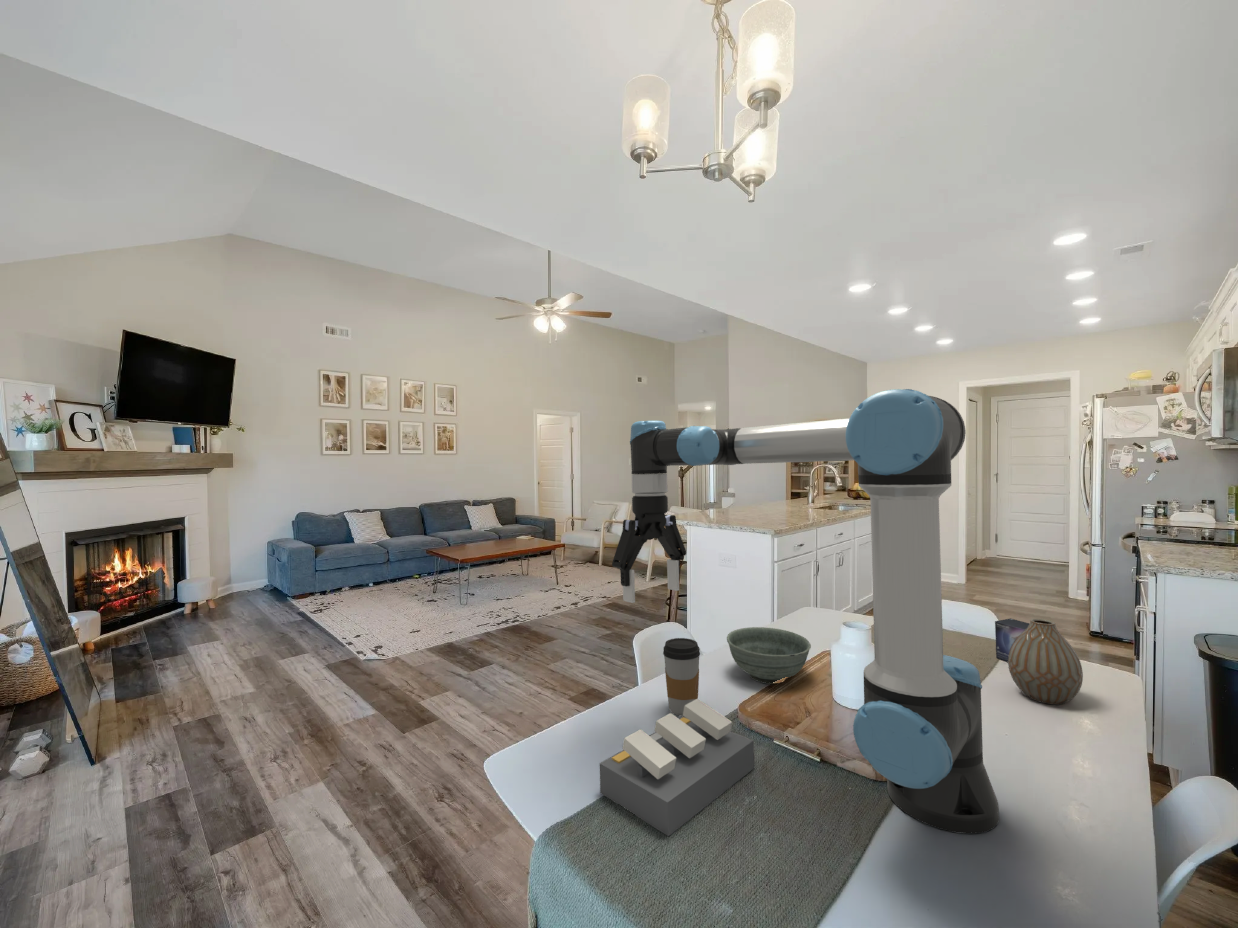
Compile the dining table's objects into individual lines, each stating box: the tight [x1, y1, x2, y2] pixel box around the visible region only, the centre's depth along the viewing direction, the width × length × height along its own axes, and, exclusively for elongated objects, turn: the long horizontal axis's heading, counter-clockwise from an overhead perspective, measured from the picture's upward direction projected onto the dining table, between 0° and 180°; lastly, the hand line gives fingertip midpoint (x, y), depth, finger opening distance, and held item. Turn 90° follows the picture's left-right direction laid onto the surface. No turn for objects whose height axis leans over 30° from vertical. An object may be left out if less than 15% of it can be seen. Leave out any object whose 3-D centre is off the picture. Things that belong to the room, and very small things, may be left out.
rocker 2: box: [654, 712, 706, 758], centre depth 90 cm, size 8×4×2 cm, turn 44°
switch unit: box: [599, 716, 755, 837], centre depth 90 cm, size 15×24×6 cm, turn 134°
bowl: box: [726, 626, 812, 685], centre depth 133 cm, size 21×21×10 cm
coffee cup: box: [662, 637, 701, 717], centre depth 117 cm, size 8×8×15 cm
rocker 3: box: [682, 698, 733, 740], centre depth 96 cm, size 8×4×2 cm, turn 44°
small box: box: [994, 618, 1030, 663], centre depth 138 cm, size 11×6×10 cm, turn 17°
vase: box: [1007, 618, 1084, 706], centre depth 118 cm, size 13×13×18 cm
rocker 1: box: [622, 729, 676, 779], centre depth 85 cm, size 8×4×2 cm, turn 44°
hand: (652, 595), depth 109 cm, fingers open, 13 cm apart
